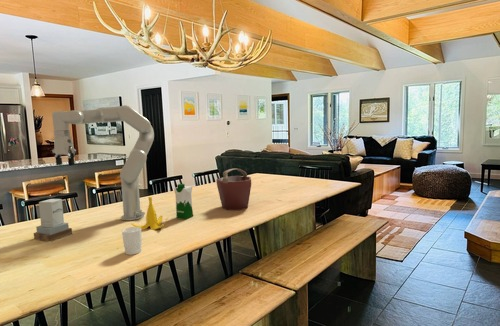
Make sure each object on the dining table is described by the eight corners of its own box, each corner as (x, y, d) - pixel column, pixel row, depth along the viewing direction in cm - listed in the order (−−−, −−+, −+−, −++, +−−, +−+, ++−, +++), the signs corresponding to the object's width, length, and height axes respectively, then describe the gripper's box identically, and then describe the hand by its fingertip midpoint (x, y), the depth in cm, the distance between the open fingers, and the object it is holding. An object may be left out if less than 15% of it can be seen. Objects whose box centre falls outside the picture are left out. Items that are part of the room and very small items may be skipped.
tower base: (72, 234, 173) (71, 228, 172) (50, 241, 162) (49, 235, 162) (56, 231, 178) (56, 226, 177) (34, 238, 167) (33, 233, 166)
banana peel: (162, 221, 192) (161, 192, 190) (164, 231, 173) (162, 199, 171) (132, 224, 187) (130, 195, 185) (130, 235, 169) (127, 202, 167)
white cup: (126, 249, 149) (125, 227, 148) (144, 248, 150) (143, 226, 149) (121, 256, 141) (119, 233, 140) (140, 254, 142) (138, 232, 141)
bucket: (230, 213, 202) (228, 172, 199) (209, 207, 219) (207, 169, 216) (260, 206, 218) (259, 168, 215) (238, 200, 235) (237, 165, 232)
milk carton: (174, 218, 195) (172, 184, 193) (183, 214, 203) (181, 182, 201) (186, 220, 192) (184, 185, 189) (195, 215, 200) (193, 182, 197)
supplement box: (53, 227, 165) (50, 202, 163) (40, 226, 166) (38, 201, 165) (64, 222, 172) (62, 198, 170) (52, 222, 174) (50, 198, 172)
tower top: (68, 228, 172) (68, 223, 171) (50, 234, 163) (49, 228, 162) (55, 226, 176) (55, 221, 176) (36, 232, 167) (36, 226, 167)
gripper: (79, 133, 183) (82, 164, 185) (57, 133, 190) (60, 163, 192) (67, 134, 176) (70, 166, 178) (44, 134, 183) (48, 165, 185)
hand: (65, 165), depth 185 cm, fingers open, 9 cm apart
